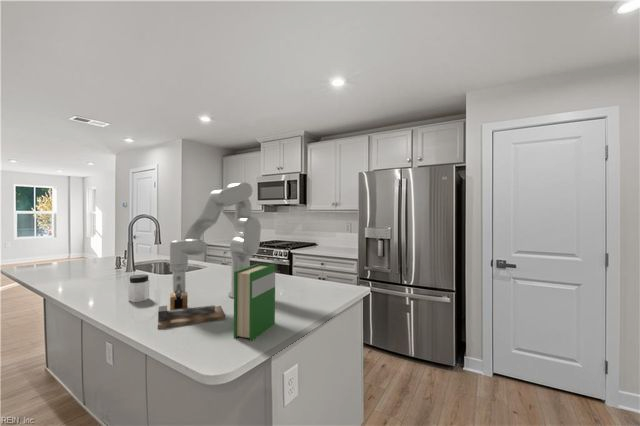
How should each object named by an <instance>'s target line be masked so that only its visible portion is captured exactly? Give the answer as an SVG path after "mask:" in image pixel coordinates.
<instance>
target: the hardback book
mask: <svg viewBox="0 0 640 426" xmlns="http://www.w3.org/2000/svg"><path fill="white" fill-rule="evenodd" d="M275 324H276V264H273V263H263V262H262V263H261V262H257V263H256V264H253V265H250V266H249V267H246V268H243V269H240V270H237V271H234V298H233V339H235V338H236V339H238V338H239V337H240V338H247V339H249V340H251V341H250V342H253V341H254V340H255V339H257V338H258V337H259V336H261V335H262V334H263V333H264V332H266V331H267V330H268V329H269V328H271V327H272V326H273V325H275ZM265 330H266V331H265ZM261 333H262V334H261ZM238 336H239V337H238ZM257 336H258V337H257ZM256 337H257V338H256ZM253 339H254V340H253ZM252 340H253V341H252Z"/></svg>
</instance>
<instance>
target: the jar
mask: <svg viewBox="0 0 640 426" xmlns="http://www.w3.org/2000/svg"><path fill="white" fill-rule="evenodd" d="M149 299H150V280H149V275H148V274H145V273H144V274H143V273H141V274H135V275H134V274H133V275H131V276H129V282H128V302H131V303H141V302H145V301H147V300H149Z"/></svg>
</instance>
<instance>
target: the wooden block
mask: <svg viewBox="0 0 640 426" xmlns="http://www.w3.org/2000/svg"><path fill="white" fill-rule="evenodd" d="M169 297H170V299H169V300H170V301H169V305H170V307H169V311H170V310H179V309H187V308H188V303H189V302H188V300H189V299H188V291H185V293H182V299H183V300H182V308H176V309H175V308H174V300H175V294H174V292H173V293H170V296H169ZM176 298H177V297H176Z"/></svg>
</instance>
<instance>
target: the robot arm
mask: <svg viewBox="0 0 640 426" xmlns="http://www.w3.org/2000/svg"><path fill="white" fill-rule="evenodd" d="M253 192H254V191H253V187H252V185H251V184H249V182H246V181H245V182H243V181H241V182H232V183H230V184H228V185H227V186H226V188H224V189H215V190H212V191H211V192H210V193H209V194H208V196H207V199H206V201H205V204H203V205H204V206H203V208H202V210H201V211H200V214H199V215H198V217H197V218H196V219H195V221H194V222H193V223H192V224H191V225H190V226H189V228H188V229H187V232H186V234H185V236H184V237H183V239H180V240H179V239H175V240H172V241H170V243H169V244H170V245H169V272H171V273H172V291H173V293H174V294H175V300H174V308H175V309H176V308H182V300H183V299H182V293H185V292H186V286H187V285H186V278H187V277H186V272H187V271H188V270H189V256H202V255H204V254H205V253H206V252H207V250H208V244H207V242H205V241H204V240H203V239H201V238H202V236H203V234H204V233H205V232H206V231H207V230H208V229H211V228H212V227H213V226H215V225H216V224H217V223H218V221H219V218H220V216H221V214H222V211H223V208H224V207H226V208H227V207H230V206H234V209H235V210H234V223H233V228H234V231H235V232H236V233H239V234H242V235H243V236H242V235H238V236H235V237H233V238H232V239H231V241H230V243H229V250H230V257H231V268H230V269H231V273H230V274H231V275H230V276H231V278H230V279H231V281H230V282H231V284H230V285H231V288H230V290H231V291H230V292H228V294H227V295H228V297H229V298H231V299H234V271H237V270H240V269H243V268H246V267H249V266H251V265H250V264H251V262H250V261H251V259H250V257H251V256H255V255H256V254H257V253H258V251H259V249H260V242H261V230H262V227H261V225H262V224H261V222H260V220H259V219H258V218H257V217H255V216H252V202H251V200H250V198H251V196H252V194H253ZM176 297H177V298H176Z"/></svg>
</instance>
